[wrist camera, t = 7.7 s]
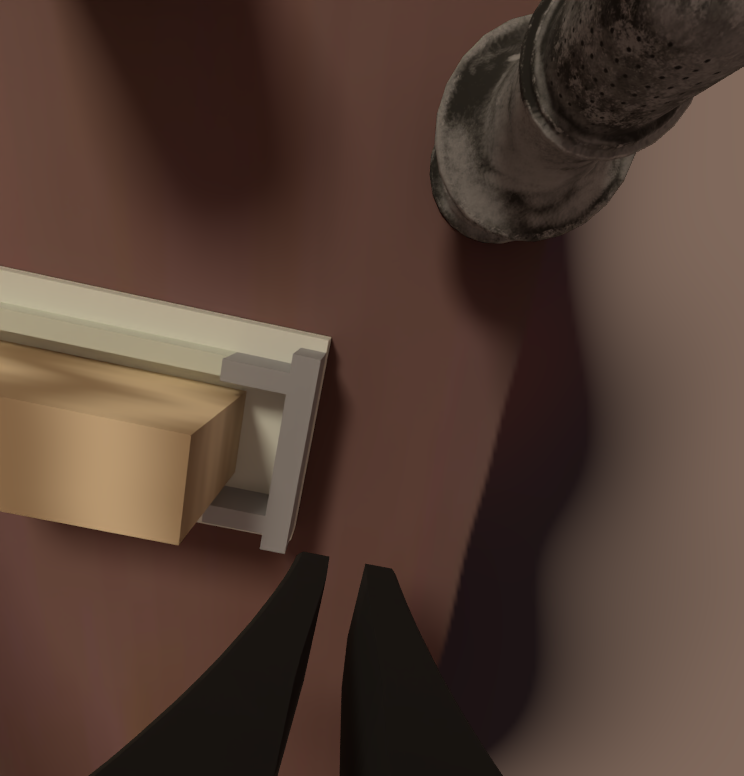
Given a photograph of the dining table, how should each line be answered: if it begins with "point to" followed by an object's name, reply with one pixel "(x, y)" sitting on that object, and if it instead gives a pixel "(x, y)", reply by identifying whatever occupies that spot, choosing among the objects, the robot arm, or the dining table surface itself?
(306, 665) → the robot arm
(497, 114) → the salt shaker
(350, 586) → the dining table surface
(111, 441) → the tan wooden block
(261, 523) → the cream rectangular tray
